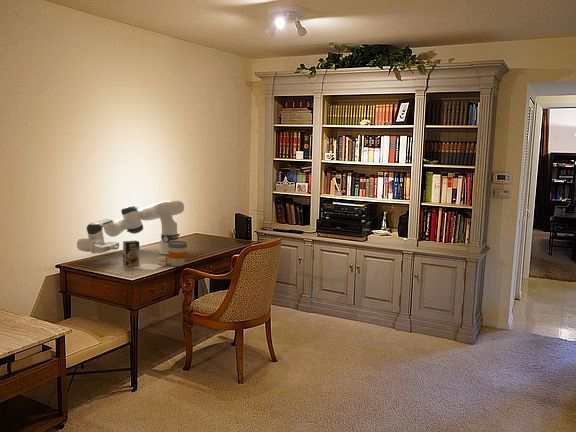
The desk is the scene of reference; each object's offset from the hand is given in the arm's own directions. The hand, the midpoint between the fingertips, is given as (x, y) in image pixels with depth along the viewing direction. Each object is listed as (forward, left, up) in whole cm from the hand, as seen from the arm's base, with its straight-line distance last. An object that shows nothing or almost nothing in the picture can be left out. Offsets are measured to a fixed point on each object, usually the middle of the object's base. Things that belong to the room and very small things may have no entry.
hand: (117, 248), depth 347 cm
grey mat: (0, +23, -11) cm, 26 cm away
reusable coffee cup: (-14, +36, -11) cm, 40 cm away
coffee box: (0, +10, -11) cm, 15 cm away
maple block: (-11, +28, -11) cm, 32 cm away
